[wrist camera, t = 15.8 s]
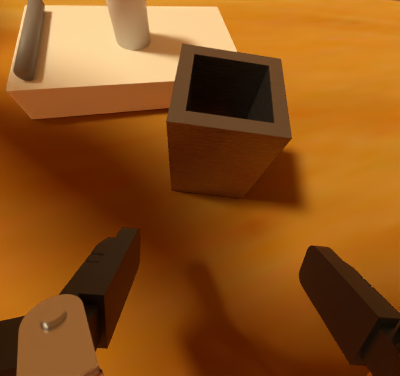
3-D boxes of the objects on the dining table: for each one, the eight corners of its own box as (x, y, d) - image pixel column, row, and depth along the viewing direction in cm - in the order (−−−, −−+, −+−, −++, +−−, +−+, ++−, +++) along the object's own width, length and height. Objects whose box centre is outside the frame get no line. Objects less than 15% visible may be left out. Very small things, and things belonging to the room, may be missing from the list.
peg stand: (31, 119, 18) (-120, -44, 9) (43, 38, 22) (-48, -124, 13) (239, 102, 21) (284, -27, 12) (213, 35, 26) (231, -95, 17)
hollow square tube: (242, 198, 17) (291, 138, 9) (171, 190, 16) (166, 121, 9) (242, 141, 19) (281, 59, 12) (180, 133, 19) (182, 43, 12)
